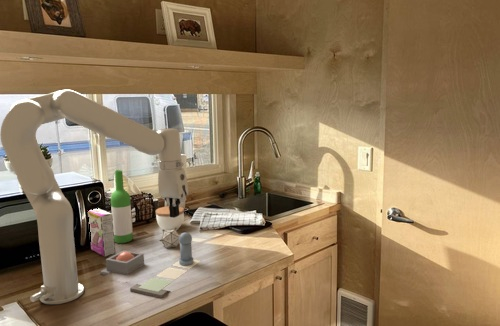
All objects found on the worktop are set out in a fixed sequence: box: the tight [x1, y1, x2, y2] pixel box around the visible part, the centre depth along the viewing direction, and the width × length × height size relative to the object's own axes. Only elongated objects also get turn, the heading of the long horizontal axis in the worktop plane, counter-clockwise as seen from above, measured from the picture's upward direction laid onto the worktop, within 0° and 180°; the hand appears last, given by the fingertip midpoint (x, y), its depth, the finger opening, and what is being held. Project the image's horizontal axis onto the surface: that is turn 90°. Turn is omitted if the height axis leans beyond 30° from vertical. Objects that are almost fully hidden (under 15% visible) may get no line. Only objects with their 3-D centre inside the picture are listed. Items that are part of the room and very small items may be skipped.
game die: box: [159, 228, 180, 249], centre depth 164 cm, size 9×8×10 cm
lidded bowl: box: [155, 205, 185, 232], centre depth 188 cm, size 13×13×11 cm
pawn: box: [178, 231, 194, 266], centre depth 147 cm, size 5×5×11 cm
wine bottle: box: [110, 169, 134, 244], centre depth 172 cm, size 8×8×30 cm
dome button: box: [116, 252, 134, 262], centre depth 145 cm, size 6×6×6 cm
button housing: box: [99, 249, 145, 276], centre depth 145 cm, size 12×12×5 cm
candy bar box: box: [87, 207, 116, 257], centre depth 161 cm, size 11×5×16 cm, turn 47°
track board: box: [129, 258, 201, 299], centre depth 140 cm, size 28×12×1 cm, turn 156°
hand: (174, 216), depth 145 cm, fingers closed
